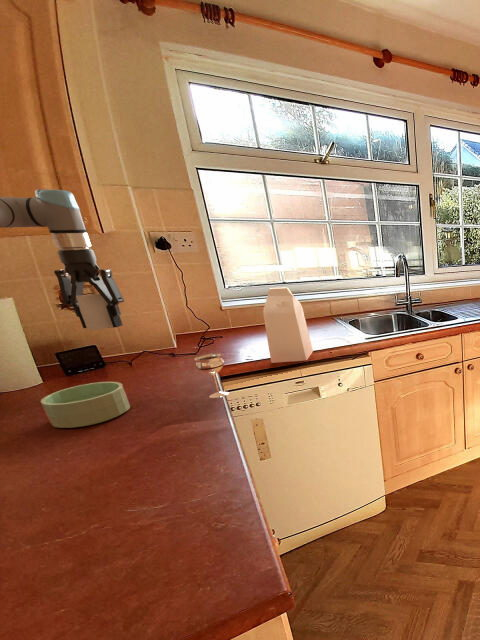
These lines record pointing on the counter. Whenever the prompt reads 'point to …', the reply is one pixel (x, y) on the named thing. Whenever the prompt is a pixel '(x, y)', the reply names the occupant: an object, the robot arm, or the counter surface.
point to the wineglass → (211, 369)
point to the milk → (286, 327)
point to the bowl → (85, 404)
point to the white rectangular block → (94, 311)
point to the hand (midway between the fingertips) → (103, 326)
